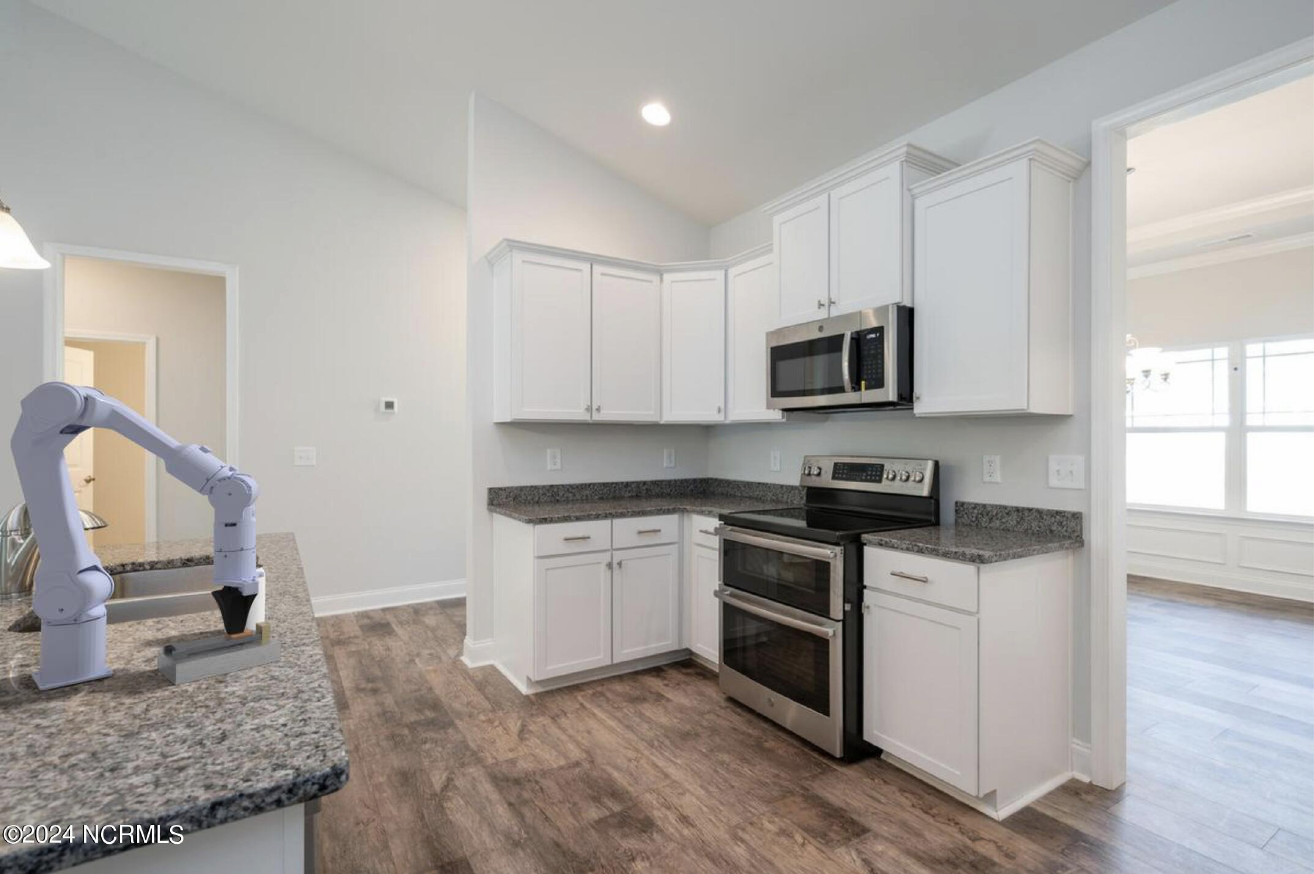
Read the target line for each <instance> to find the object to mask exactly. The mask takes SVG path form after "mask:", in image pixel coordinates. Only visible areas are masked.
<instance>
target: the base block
mask: <svg viewBox="0 0 1314 874" xmlns="http://www.w3.org/2000/svg"><path fill="white" fill-rule="evenodd" d="M256 632H258V633H260V634H261V639H258V640H253V641H248V642H243V643H238V644H233V645H229V646H224V647H219V648H214V649H209V650H204V651H199V652H194V653H189V654H187V650H186V649H183V650H178V651H172V650H171V645H173V644H178V643H177V642H170V643H165V644H162V649H157V661H156V662H157V664H156V670H157V671H159V672H160V673H161V674H162V673H163V674H162V675H163V676H164V675H165V676H164V677H165V678H167V679H168V680H169V681H170V682H171V683H172V684H174V685H175V686H178V685H184V684H187V683H192V682H195V681H199V680H204V679H208V678H212V677H216V676H220V675H226V674H228V673H229V674H230V673H233V672H237V671H243V670H246V669H251V668H254V667H259V666H263V665H267V664H268V665H269V664H272V663H275V662H280V661H282V641H280V640H278V639H276V638H274V637H272V636H271V624H269V623H267V622H266V621H265V622H259V623H256ZM271 662H272V663H271Z"/></svg>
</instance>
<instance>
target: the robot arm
mask: <svg viewBox="0 0 1314 874" xmlns="http://www.w3.org/2000/svg"><path fill="white" fill-rule="evenodd" d="M20 407H21V412H20V415H19V417H18V421H17V423H16V426H15V428H14V431H13V433H12V436H11V438H10V443H9V444H10V450H11V453H12V456H13V460H14V464H15V468H16V471H17V476H18V479H19V483H20V487H21V490H22V493H23V494H22V495H23V497H24V501H25V505H26V508H27V512H28V516H29V519H30V523H31V527H32V531H33V535H34V539H35V541H36V545H37V550H38V553H39V556H40V563H39V565H38V567H37V570H36V571H35V574H34V576H33V580H34V584H35V591H34V594H33V597H32V600H31V606H32V610H33V612H34V613H35V615H36V616H37V617H38V618H40V622H41V623H40V650H39V651H40V654H39V655H40V656H39V657H40V660H39V661H40V663H39V666H40V667H39V670H35V671H33V672H31V673H30V676H31V678H32V679H33V681H34V682H35V684H36V686H37V688H38V689H39V691H45V690H46V691H47V690H51V689H57V688H61V687H65V686H70V685H75V684H79V683H84V682H88V681H93V680H97V679H103V678H108V677H111V676H113V675H114V671H113V670H112V669H111V668H110V667H109V666H108V665H107V664H106V659H107V658H106V657H107V656H106V654H107V613H108V612H107V609H106V606H105V604H106V602H107V601H108V600H109V599H111V597H112V595H113V593H114V590H115V583H114V580H113V578H112V576H111V575H110V574H109V573H108V572H107V571H106V570H105V569H104V568H103V566H102V561H101V560H100V558H99V557H98V556H97V555H96V554H95V553H94V552H92V550H90V548H89V544H88V540H87V536H86V532H85V529H84V525H83V521H82V517H81V513H80V511H79V507H78V502H77V499H76V495H75V490H74V488H73V483H72V481H71V476H70V472H69V467H68V465H67V462H66V457H65V454H64V453H65V452H64V450H65V448H67V447H68V445H70V444H71V443H72V442H73V441H74V440H75V439H76V438H77V437H78V436H79V435H80V434H81V433H84V432H85V431H87V430H90V429H91V428H98V429H99V428H100V429H107V430H113V432H114V431H115V432H117V433H118V434H119V435H121V436H123V437H125V438H127V439H128V440H130V441H131V442H133V443H134V444H136V445H138V446H139V447H141V448H143V449H144V450H146V451H148V452H149V453H152V454H154V455H155V456H157V457H159V458H160V459H161V460H163V461H164V468H165V472H166V473H168V474H170V476H172V477H174V478H176V479H177V480H178V481H180V482H182V483H183V484H185V485H187V486H188V487H189V488H191V489H192V490H195V491H196V492H198V493H199V494H200V495H202V496H207V500H208V503H209V504H210V505H211V507H212V508H214V520H213V577H212V579H211V580H212V581H211V584H212V585H215V586H223V587H222V588H221V589H215V590H212V591H211V595H212V597H213V599H214V600H215V602H216V603H217V605H218V608H219V611H220V615H221V618H222V622H223V628H224V627H225V630H226V633H227V634H229V635H230V634H236V633H241V632H244V630H245V626H246V623H247V618H248V615H249V611H250V608H251V606H252V603H253V601H254V599H255V598H256V596H257V595H258V593H259V581H257V578H259V577H264V572H265V571H264V572H261V571H259V572H256V564H257V520H256V504H254V503H255V502H256V501H257V499H258V497H259V495H260V487H259V485H258V482H256V480H255V479H254V478H253V477H252V476H251V475H250V474H247V473H241V472H238V471H239V468H238V467H236V465H228V464H227V463H225V462H224V461H222V460H221V459H219V458H217V456H214V455H213V454H211V452H212V451H213V450H212V448H210V447H209V446H207V445H201V446H200V445H198V444H197V443H188V444H187V443H186V444H181V443H180V442H178V441H177V440H176V439H174V438H173V437H171V436H170V435H168V434H167V433H165V432H164V431H163V430H162V429H160V428H159V427H157V426H156V425H154V423H153V422H151V421H149V420H148V419H146V418H145V417H143V416H142V415H140V414H139V413H138V412H137V411H135V410H134V409H132V408H131V407H129V406H127V404H125V403H123V402H122V401H120V400H118V399H116V398H114V397H112V396H109V395H106V394H105V392H103V391H102V390H100V389H98V388H96V387H92V386H88V385H87V386H81V385H75V384H71V383H67V382H63V381H48V382H45V383H42V384H40V385H38V386H37V387H36V388H34V389H33V390H32V391H31V392H29V393H28V394H27V395H25V396H24V398H22V399H21V400H20Z"/></svg>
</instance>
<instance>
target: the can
mask: <svg viewBox="0 0 1314 874" xmlns="http://www.w3.org/2000/svg"><path fill="white" fill-rule="evenodd" d="M263 567H264V565H263V564H259V563H256V572H259V571H261V572H264V577H259V578H257V581H259V593H258V595H257V596H256V598H255V599H254V601H253V603H252V606H251V608H250V611H249V615H248V618H247V623H246V626H245V628H248V629H250V630H251V629H252V630H254V631H256V623H259V622H266V621H265V620H266V617H265V616H266V615H265V613H266V572H265V569H264V568H263ZM225 631H226V630H225V627H224V626H223V632H224V633H225Z"/></svg>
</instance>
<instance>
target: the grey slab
mask: <svg viewBox="0 0 1314 874" xmlns="http://www.w3.org/2000/svg"><path fill="white" fill-rule="evenodd" d="M258 639H261V634H260V633H258V632H256V631H254V630H252V629H251V630H250V629H248V628H245V630H244V632H241V633H236V634H230V635H229V634H227V633H226V631H225V632H224V634H221V635H215V636H210V637H205V638H200V639H194V640H188V641H185V642H178V643H177V644H173V645H171V650H172V651H178V650H183V649H186V650H187V654H189V653H194V652H199V651H204V650H209V649H214V648H219V647H224V646H229V645H233V644H238V643H243V642H248V641H253V640H258Z"/></svg>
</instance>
